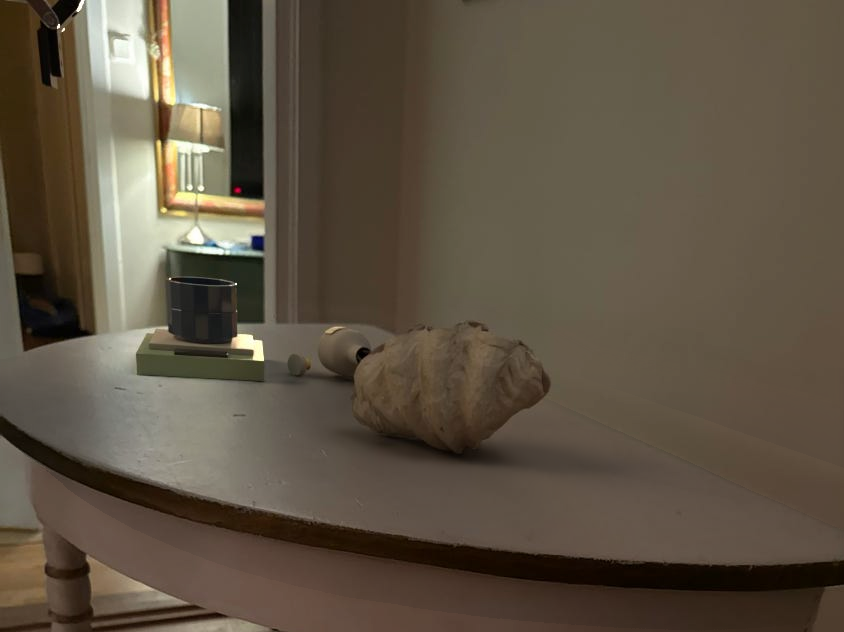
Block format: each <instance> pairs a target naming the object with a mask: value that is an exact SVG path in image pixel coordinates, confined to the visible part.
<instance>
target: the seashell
mask: <svg viewBox="0 0 844 632" xmlns="http://www.w3.org/2000/svg"><path fill="white" fill-rule="evenodd" d="M353 380H354V385H353V387H352V391H351V395H350V400H351V407H350V408H351V413H352V414H353V416H354V418H355V420H356V421H357V422H358V423H359V424H360V425H362V426H365V427H367V428H369V429H371V431H374V432H375V433H378V434H381V435H386V436H396V437H405V438H417V439H420V440H421V441H424V442H425V443H426V444H428V445H429V446H431V447H433V448H434V449H437V450H440V451H445V452H450V451H453V452H454V453H455V454H462V453H463V452H464V449H466V448H469V449H472V450H475V449H477V448H478V447H479V445H480V443H482V441H485V440H489V439H490V438H491V437H492V436H493V435H494V434H495V433H496V432H498V430H500V429H501V428H502V427H503V426H504V425H505V424H506V423H507V422H508V421H510V419H511V418H512V417H513V416H515V415H517V414H518V413H520V412H521V411H523V410H527V409H528V410H530V409H531V408H532V407H534V406H535V405H537V404H538V403H539V402H540V401H541V400H543V399H544V398H545V397H546V396H547V395H548V393H549V392H550V389H551V386H552V379H551V376H550V374H549V373H548V372H547V371H546V369H544V367H543V362H542V360H540V359H538V358H537V357H536V355H535V351H534V350H533V348H530V347H529V345H527V344H525V343H524V342H523V341H522V340H519V339H514V338H512V339H511V340H510V339H507V338H505V337H503V336H500V335H498V334H495V333H493V332H490V327H489V326H488V325H487V324H486V323H485V322H482V321H479V320H475V319H467V320H465V321H464V322H458V323H456V324H455V325H453V327H451V328H449V327H441V328H438V329H437V328H435V327H434V325H432V324H430V326H428V325H425V324H422V323H420V324H415V325H414V326H412V327H410V328H409V329H408V330H407V331H405V332H404V333H401V334H398V335H395V336H394V337H392V338H390V339H388V340H387V341H386V342H383V343H382V344H380V345H378V346H377V347H374V348H373V349H372V350H371V353H370V354H368V355H367V356H366V357H365V358H364V359H362V360H361V362H360V363H359V365H358V367H357V369H356V371H355V374H354V376H353Z"/></svg>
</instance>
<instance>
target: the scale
mask: <svg viewBox="0 0 844 632" xmlns="http://www.w3.org/2000/svg"><path fill="white" fill-rule="evenodd" d="M253 337H254V336H253V334H243V333H237V337H235V338H233V341H232V342H229V343H222V344H203V343H192V342H185V341H181V340H178V339H175V338H174V335H173V334H171V333H169V332H168V328H167V329H166V328H155V329H154V331H153V333H151V332H147V333H146V334H145V336H144V338H143V339H142V341H141V343H140V345H139V346H138V349H136V352H135V363H136V364H135V365H136V374H137V375H138V376H139V375H140V376H158V377H177V378H193V379H194V378H197V379H214V380H215V379H216V380H217V379H218V380H231V381H232V380H235V381H249V382H250V381H251V382H252V381H253V382H265V357H264V347H263V341H262V340H261V339H260V340H259V339H253Z"/></svg>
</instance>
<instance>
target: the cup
mask: <svg viewBox="0 0 844 632" xmlns="http://www.w3.org/2000/svg"><path fill="white" fill-rule="evenodd" d="M237 290H238V289H237V282H234V281H230V280H226V279H220V278H211V277H200V276H199V277H198V276H170V277H166V278H165V292H166V293H165V294H166V311H167V312H166V313H167V329H168V332H169V333H171V334H173V335H174V338H175V339H178V340H181V341H185V342H192V343H203V344H222V343H229V342H232V341H233V338H235V337H237V334H238V299H237V297H238V296H237V295H238V294H237V293H238V292H237Z"/></svg>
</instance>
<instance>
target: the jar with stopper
mask: <svg viewBox="0 0 844 632" xmlns="http://www.w3.org/2000/svg"><path fill="white" fill-rule="evenodd" d="M371 352H372V347H371V344H370V341H369V340H368V339H367V337H366V335H364V334H363V333H361V332H360V331H358V330H355V329H351V328H345V327H344V326H333V327H330V328H328V329H326V330H325V331H324V332H323V334H322V336H321V337H320V339H319V341H318V345H317V355H318V359H319V361H320V363H321V365H322V366H323V367H324V368H325V369H326V370H327V371H329V372H332V373H335V374H337V375H340V376H343V377H348V378H350V377H353V378H354V374H355V371H356V369H357V367H358V365H359V363H360V362H361V360H362V359H364V358H365V357H366V356H367V355H368V354H370V353H371ZM311 367H312V366H311V361H310V359H307V358H306V357H305V356H304V355H303V354H301V353H292V354H290V355H289V357H288V359H287V369H288V372H289V373H290V374H291V375H292V376H302V375H304V374H305V373H306V372H307V371H309V370H310V369H311Z"/></svg>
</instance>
